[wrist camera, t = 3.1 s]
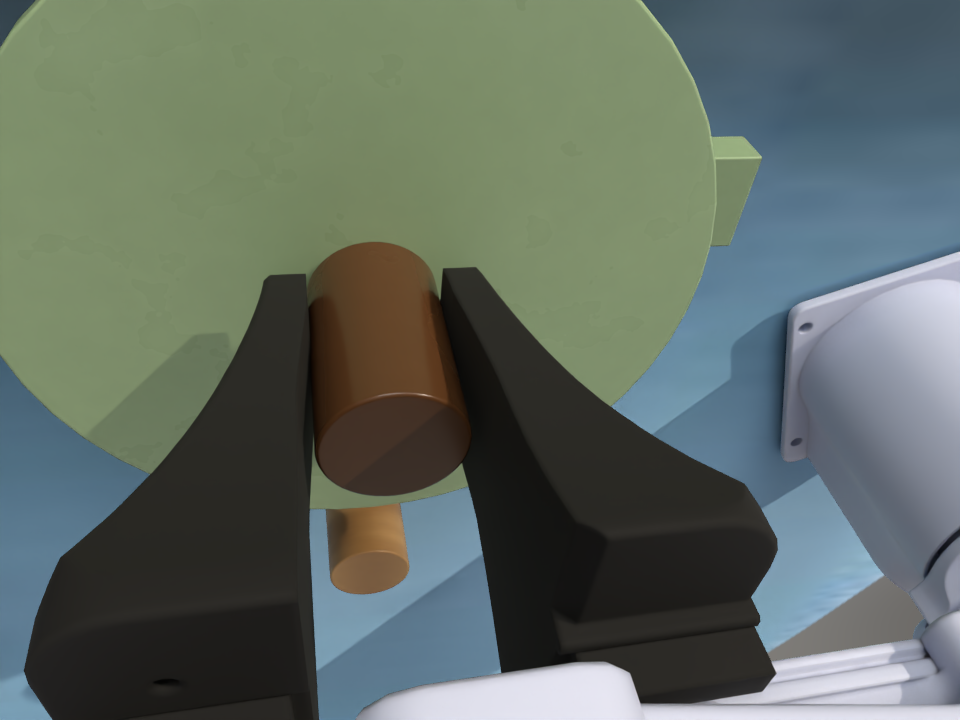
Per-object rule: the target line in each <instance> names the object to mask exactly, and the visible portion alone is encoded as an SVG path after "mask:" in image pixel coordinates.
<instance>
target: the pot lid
mask: <svg viewBox="0 0 960 720" xmlns="http://www.w3.org/2000/svg"><path fill="white" fill-rule="evenodd" d="M716 204H717V197H716V160H715V155H714V149H713V143H712V138H711V132H710V126H709V121H708V118H707V115H706V113H705V110H704V107H703V104H702V101H701V98H700V95H699V92H698V90H697V87H696V84H695V81H694V79H693V77H692V75H691V74H690V72H689V70H688V68H687V66H686V64H685V63H684V61H683V59H682V57H681V55H680V53H679V52H678V50H677V48H676V46H675V44H674V42H673V41H672V39H671V38H670V37H669V35H668V34H667V33H666V31H665V30H664V29H663V28H662V26H661V25H660V24H659V23H658V21H657V20H656V19H655V17H654V16H653V15H652V14H651V12H650V11H649V10H648V8H647V7H646V6H645V5H644V3H643V2H642V1H641V0H36V1H35V2H34V3H33V4H32V5H31V6H30V7H29V8H28V9H27V10H26V12H25V13H24V14H23V15H22V16H21V17H20V18H19V19H18V20H17V22H16V24H15V25H14V27H13V28H12V30H11V31H10V33H9V35H8V36H7V38H6V39H5V41H4V42H3V44H2V46H1V47H0V356H1V357H2V358H3V360H4V361H5V362H6V364H7V365H8V366H9V367H10V369H11V370H12V371H13V373H14V374H15V375H16V376H17V378H18V379H19V380H20V382H21V383H22V384H23V385H24V386H25V387H26V388H27V389H28V390H29V391H30V392H31V393H32V394H33V395H34V396H35V397H36V398H37V399H38V400H39V401H40V402H41V403H42V404H43V405H44V406H45V407H46V408H47V409H48V410H49V411H50V412H51V413H52V414H53V415H55V416H56V417H57V418H59V419H60V420H61V421H62V422H64V423H65V424H66V425H68V426H69V427H70V428H71V429H73V430H74V431H75V432H77V433H78V434H79V435H80V436H82V437H83V438H84V439H86V440H88V441H89V442H91V443H93V444H94V445H96V446H98V447H99V448H101V449H103V450H104V451H106V452H107V453H109V454H111V455H112V456H114V457H116V458H117V459H119V460H121V461H123V462H125V463H128V464H130V465H132V466H134V467H136V468H138V469H140V470H142V471H144V472H146V473H149V474H151V473H152V472H153V471H154V470H155V469H156V468H157V467H158V465H159V464H160V463H161V462H162V461H163V460H164V459H165V457H166V456H167V455H168V454H169V453H170V451H171V450H172V449H173V448H174V446H175V445H176V444H177V443H178V441H179V440H180V439H181V438H182V436H183V435H184V434H185V433H186V431H187V430H188V429H189V427H190V426H191V425H192V423H193V422H194V420H195V419H196V418H197V416H198V415H199V413H200V412H201V411H202V409H203V408H204V406H205V405H206V403H207V402H208V400H209V399H210V397H211V395H212V394H213V392H214V391H215V389H216V387H217V386H218V384H219V382H220V380H221V379H222V377H223V375H224V373H225V372H226V370H227V368H228V366H229V365H230V363H231V361H232V359H233V358H234V356H235V354H236V352H237V350H238V347H239V345H240V343H241V341H242V339H243V337H244V335H245V333H246V331H247V329H248V326H249V324H250V321H251V319H252V317H253V314H254V312H255V309H256V306H257V303H258V300H259V297H260V294H261V290H262V286H263V281H264V280H265V279H266V278H267V277H268V276H269V275H281V274H306V284H307V298H308V313H309V331H310V377H311V395H312V414H313V433H314V435H313V455H312V474H311V494H310V509H349V508H364V507H376V506H383V505H390V504H397V503H404V502H410V501H415V500H419V499H424V498H428V497H433V496H437V495H442V494H446V493H449V492H452V491H455V490H459V489H462V488H465V487H468V483H467V480H466V476H465V473H464V469H463V466H462V462H463V461H464V459H465V457H466V456H467V454H468V451H469V449H470V445H471V441H472V430H471V425H470V421H469V416H468V412H467V408H466V404H465V400H464V396H463V392H462V388H461V384H460V380H459V376H458V372H457V368H456V363H455V359H454V355H453V351H452V347H451V343H450V339H449V335H448V331H447V327H446V323H445V319H444V315H443V311H442V306H441V302H440V297H441V284H442V272H443V268H464V267H476V268H477V269H478V270H479V271H480V272H481V273H482V274H483V275H484V277H485V278H486V279H487V281H488V282H489V283H490V284H491V286H492V287H493V288H494V290H495V291H496V292H497V293H498V295H499V296H500V297H501V298H502V300H503V301H504V302H505V303H506V305H507V306H508V307H509V308H510V310H511V311H512V312H513V313H514V314H515V316H516V317H517V318H518V319H519V320H520V321H521V323H522V324H523V325H524V326H525V327H526V328H527V329H528V330H529V331H530V333H531V334H532V335H533V336H534V337H535V338H536V339H537V340H538V341H539V343H540V344H541V345H542V346H543V347H544V348H545V349H546V350H547V351H548V352H549V353H550V354H551V355H552V356H553V357H554V358H555V359H556V360H557V361H558V362H559V363H560V364H561V365H562V366H563V367H564V368H565V369H566V370H567V371H568V372H569V373H571V374H572V375H573V376H574V377H575V378H576V379H577V380H578V381H579V382H580V383H582V384H583V385H584V386H585V387H587V388H588V389H589V390H590V391H591V392H593V393H594V394H595V395H596V396H597V397H599V398H600V399H601V400H602V401H604V402H605V403H606V404H608V405H609V406H610V407H611V406H612V405H613V404H614V403H615V402H616V401H618V400H619V399H620V398H621V397H622V396H623V395H624V394H625V393H626V392H627V391H628V390H629V389H630V388H631V387H632V386H633V385H634V384H635V383H636V382H637V380H638V379H639V378H640V377H641V376H642V375H643V374H644V373H645V372H646V371H647V370H648V369H649V367H650V366H651V365H652V363H653V362H654V361H655V359H656V358H657V357H658V355H659V354H660V352H661V351H662V350H663V348H664V347H665V346H666V344H667V343H668V342H669V340H670V339H671V337H672V335H673V334H674V332H675V330H676V328H677V327H678V325H679V323H680V322H681V320H682V318H683V316H684V315H685V313H686V311H687V310H688V307H689V305H690V303H691V300H692V298H693V296H694V293H695V291H696V289H697V286H698V284H699V281H700V279H701V277H702V274H703V270H704V266H705V263H706V259H707V256H708V252H709V248H710V245H711V241H712V234H713V227H714V219H715V212H716Z"/></svg>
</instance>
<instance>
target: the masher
mask: <svg viewBox="0 0 960 720" xmlns="http://www.w3.org/2000/svg"><path fill="white" fill-rule="evenodd" d="M326 522H327V537H328V552H329V568H330V579H331V582H332V583H333V585H334V586H335V587H336V588H338V589H339V590H341V591H344V592H347V593H352V594H372V593H377V592H381V591H384V590H387V589H390V588H392V587H394V586H396V585H397V584H399V583H400V582H401V581H402V580H403V579H404V578H405V577H406V576H407V574H408V571H409V560H408V554H407V547H406V540H405V533H404V527H403V520H402V513H401V506H400V503H397V504H390V505H383V506H376V507H364V508H349V509H326Z"/></svg>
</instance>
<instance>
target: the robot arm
mask: <svg viewBox="0 0 960 720" xmlns="http://www.w3.org/2000/svg"><path fill="white" fill-rule="evenodd" d="M440 302H441V306H442V311H443V315H444V319H445V323H446V327H447V331H448V335H449V339H450V343H451V347H452V351H453V355H454V359H455V363H456V368H457V372H458V376H459V380H460V384H461V388H462V392H463V396H464V400H465V404H466V408H467V412H468V416H469V421H470V425H471V430H472V441H471V445H470V449H469V451H468V454H467V456H466V457H465V459H464V461H463V462H462V466H463V469H464V473H465V476H466V480H467V483H468V487H469V490H470V493H471V497H472V501H473V505H474V509H475V514H476V518H477V523H478V529H479V534H480V540H481V546H482V551H483V557H484V563H485V569H486V575H487V581H488V587H489V593H490V600H491V606H492V612H493V619H494V626H495V632H496V639H497V646H498V653H499V659H500V666H501V673H500V674H493V675H486V676H480V677H473V678H466V679H459V680H453V681H446V682H439V683H433V684H426V685H420V686H417V687H413V688H409V689H405V690H402V691H398V692H394V693H390V694H388V695H386V696H384V697H382V698H381V699H379V700H377V701H375V702H374V703H372V704H370V705H368V706H367V707H365V708H364V709H363V710H362V711H361V712H360V713H359V714H358V716H357V718H356V719H355V720H960V252H956V253H953V254H950V255H947V256H944V257H941V258H938V259H935V260H932V261H928V262H925V263H922V264H919V265H916V266H913V267H910V268H907V269H904V270H901V271H897V272H894V273H891V274H888V275H885V276H882V277H879V278H876V279H873V280H869V281H866V282H863V283H860V284H857V285H854V286H851V287H848V288H845V289H841V290H838V291H835V292H832V293H829V294H826V295H823V296H820V297H817V298H813V299H810V300H807V301H804V302H801V303H799V304H797V305H795V306H794V307H793V308H792V309H791V311H790V312H789V315H788V326H787V344H786V362H785V380H784V398H783V417H782V435H781V456H782V457H783V459H784V460H785V461H786V462H794V461H798V460H801V459H804V458H807V457H808V458H809V460H810V462H811V463H812V465H813V466H814V468H815V469H816V471H817V473H818V474H819V476H820V477H821V479H822V481H823V482H824V484H825V485H826V487H827V488H828V490H829V492H830V493H831V495H832V496H833V498H834V499H835V501H836V503H837V504H838V506H839V507H840V509H841V511H842V512H843V514H844V515H845V517H846V518H847V520H848V522H849V523H850V525H851V526H852V528H853V529H854V531H855V533H856V534H857V536H858V537H859V539H860V541H861V542H862V544H863V545H864V547H865V548H866V550H867V552H868V553H869V555H870V556H871V558H872V560H873V561H874V563H875V564H876V565H877V566H878V568H879V569H880V570H881V571H882V573H883V574H884V575H885V576H886V577H887V578H889V579H890V580H891V581H892V582H893V583H894V584H895V585H897V586H898V587H899V588H901V589H902V590H904V591H906V592H907V593H909V595H910V597H911V598H912V600H913V601H914V603H915V604H916V606H917V608H918V609H919V610H920V612H921V614H922V615H923V617H924V618H925V619H923V620H922V621H921V622H920V623H919V624H918V625H917V627H916V628H915V631H914V634H913V639H910V640H904V641H897V642H891V643H885V644H879V645H872V646H866V647H859V648H853V649H847V650H841V651H834V652H827V653H821V654H815V655H808V656H802V657H796V658H789V659H783V660H777V661H771V660H770V658H769V656H768V654H767V652H766V650H765V648H764V645H763V643H762V641H761V639H760V637H759V635H758V633H757V631H756V629H755V627H754V626H758V624H759V623H760V615H759V613H758V611H757V609H756V607H755V605H754V603H753V601H752V599H751V596H752V595H753V593H754V592H755V590H756V589H757V587H758V586H759V584H760V582H761V581H762V579H763V578H764V576H765V575H766V573H767V572H768V570H769V568H770V567H771V564H772V562H773V560H774V558H775V555H776V553H777V551H778V547H777V538H776V536H775V534H774V532H773V530H772V528H771V527H770V525H769V523H768V521H767V519H766V517H765V515H764V513H763V512H762V510H761V508H760V506H759V505H758V503H757V502H756V500H755V499H754V497H753V496H752V494H751V493H750V491H749V490H748V488H747V487H746V485H745V484H744V483H742V482H740V481H738V480H736V479H734V478H732V477H729V476H727V475H725V474H723V473H721V472H719V471H717V470H715V469H713V468H711V467H709V466H707V465H705V464H702V463H700V462H698V461H696V460H694V459H693V458H691V457H689V456H687V455H685V454H684V453H682V452H680V451H678V450H677V449H675V448H673V447H671V446H669V445H668V444H666V443H664V442H663V441H661V440H659V439H658V438H656V437H654V436H653V435H651V434H650V433H648V432H646V431H645V430H643V429H642V428H640V427H639V426H637V425H636V424H635V423H633V422H632V421H630V420H629V419H627V418H626V417H624V416H623V415H621V414H620V413H618V412H617V411H616V410H614V409H613V408H612V407H610V406H609V405H608V404H606V403H605V402H604V401H602V400H601V399H600V398H599V397H597V396H596V395H595V394H594V393H593V392H591V391H590V390H589V389H588V388H587V387H585V386H584V385H583V384H582V383H580V382H579V381H578V380H577V379H576V378H575V377H574V376H573V375H572V374H571V373H569V372H568V371H567V370H566V369H565V368H564V367H563V366H562V365H561V364H560V363H559V362H558V361H557V360H556V359H555V358H554V357H553V356H552V355H551V354H550V353H549V352H548V351H547V350H546V349H545V348H544V347H543V346H542V345H541V344H540V343H539V341H538V340H537V339H536V338H535V337H534V336H533V335H532V334H531V333H530V331H529V330H528V329H527V328H526V327H525V326H524V325H523V324H522V323H521V321H520V320H519V319H518V318H517V317H516V316H515V314H514V313H513V312H512V311H511V310H510V308H509V307H508V306H507V305H506V303H505V302H504V301H503V300H502V298H501V297H500V296H499V295H498V293H497V292H496V291H495V290H494V288H493V287H492V286H491V284H490V283H489V282H488V281H487V279H486V278H485V277H484V275H483V274H482V273H481V272H480V271H479V270H478V269H477V268H476V267H464V268H443V272H442V284H441V297H440ZM313 435H314V433H313V414H312V395H311V377H310V331H309V313H308V298H307V284H306V274H281V275H269V276H268V277H267V278H266V279H265V280H264V281H263V286H262V290H261V294H260V297H259V300H258V303H257V306H256V309H255V312H254V314H253V317H252V319H251V321H250V324H249V326H248V329H247V331H246V333H245V335H244V337H243V339H242V341H241V343H240V345H239V347H238V350H237V352H236V354H235V356H234V358H233V359H232V361H231V363H230V365H229V366H228V368H227V370H226V372H225V373H224V375H223V377H222V379H221V380H220V382H219V384H218V386H217V387H216V389H215V391H214V392H213V394H212V395H211V397H210V399H209V400H208V402H207V403H206V405H205V406H204V408H203V409H202V411H201V412H200V413H199V415H198V416H197V418H196V419H195V420H194V422H193V423H192V425H191V426H190V427H189V429H188V430H187V431H186V433H185V434H184V435H183V436H182V438H181V439H180V440H179V441H178V443H177V444H176V445H175V446H174V448H173V449H172V450H171V451H170V453H169V454H168V455H167V456H166V457H165V459H164V460H163V461H162V462H161V463H160V464H159V465H158V467H157V468H156V469H155V470H154V471H153V472H152V473H151V474H150V475H149V476H148V477H147V478H146V479H145V481H144V482H143V483H142V484H141V485H140V486H139V487H138V488H137V489H136V490H135V491H134V492H133V493H132V494H131V495H130V496H129V497H128V498H127V499H126V500H125V501H124V502H123V503H122V504H121V505H120V506H119V507H118V508H117V509H116V510H115V511H114V512H113V513H112V514H111V515H110V516H108V517H107V518H106V519H105V520H104V521H103V522H102V523H100V524H99V525H98V526H97V527H96V528H95V529H93V530H92V531H91V532H90V533H89V534H88V535H87V536H85V537H84V538H83V539H82V540H81V541H80V542H78V543H77V544H76V545H75V546H74V547H73V548H71V549H70V550H69V551H68V552H67V553H65V554H64V555H63V556H62V557H61V558H60V560H59V562H58V564H57V566H56V568H55V570H54V572H53V574H52V577H51V579H50V581H49V583H48V586H47V588H46V591H45V594H44V596H43V599H42V601H41V604H40V606H39V609H38V612H37V615H36V618H35V622H34V626H33V631H32V635H31V640H30V645H29V649H28V654H27V658H26V663H25V668H24V672H25V675H26V678H27V681H28V684H29V686H30V687H31V689H32V690H33V691H34V693H35V694H36V696H37V697H38V699H39V700H40V702H41V703H42V705H43V706H44V708H45V709H46V711H47V712H48V714H49V715H50V717H51V718H52V720H319V713H318V695H317V676H316V657H315V638H314V619H313V599H312V579H311V559H310V539H309V513H310V494H311V474H312V455H313Z"/></svg>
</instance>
